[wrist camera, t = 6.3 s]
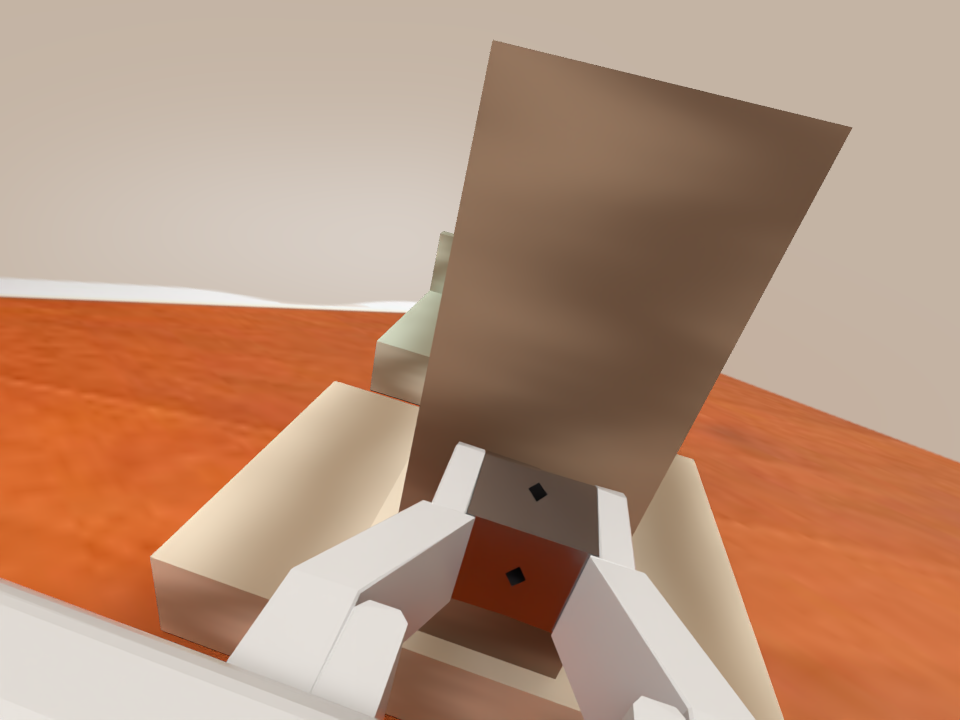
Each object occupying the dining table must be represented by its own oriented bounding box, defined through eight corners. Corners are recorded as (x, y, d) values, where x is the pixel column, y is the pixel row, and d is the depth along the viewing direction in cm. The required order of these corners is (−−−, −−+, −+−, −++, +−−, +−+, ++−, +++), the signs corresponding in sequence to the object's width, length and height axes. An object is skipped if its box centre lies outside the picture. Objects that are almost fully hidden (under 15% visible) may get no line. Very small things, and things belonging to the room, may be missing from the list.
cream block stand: (160, 630, 13) (131, 426, 10) (425, 325, 34) (443, 231, 31) (743, 847, 11) (931, 695, 8) (639, 389, 33) (681, 297, 30)
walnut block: (377, 616, 11) (492, 40, 6) (463, 421, 19) (545, 99, 14) (555, 679, 11) (852, 127, 6) (567, 453, 19) (693, 137, 14)
